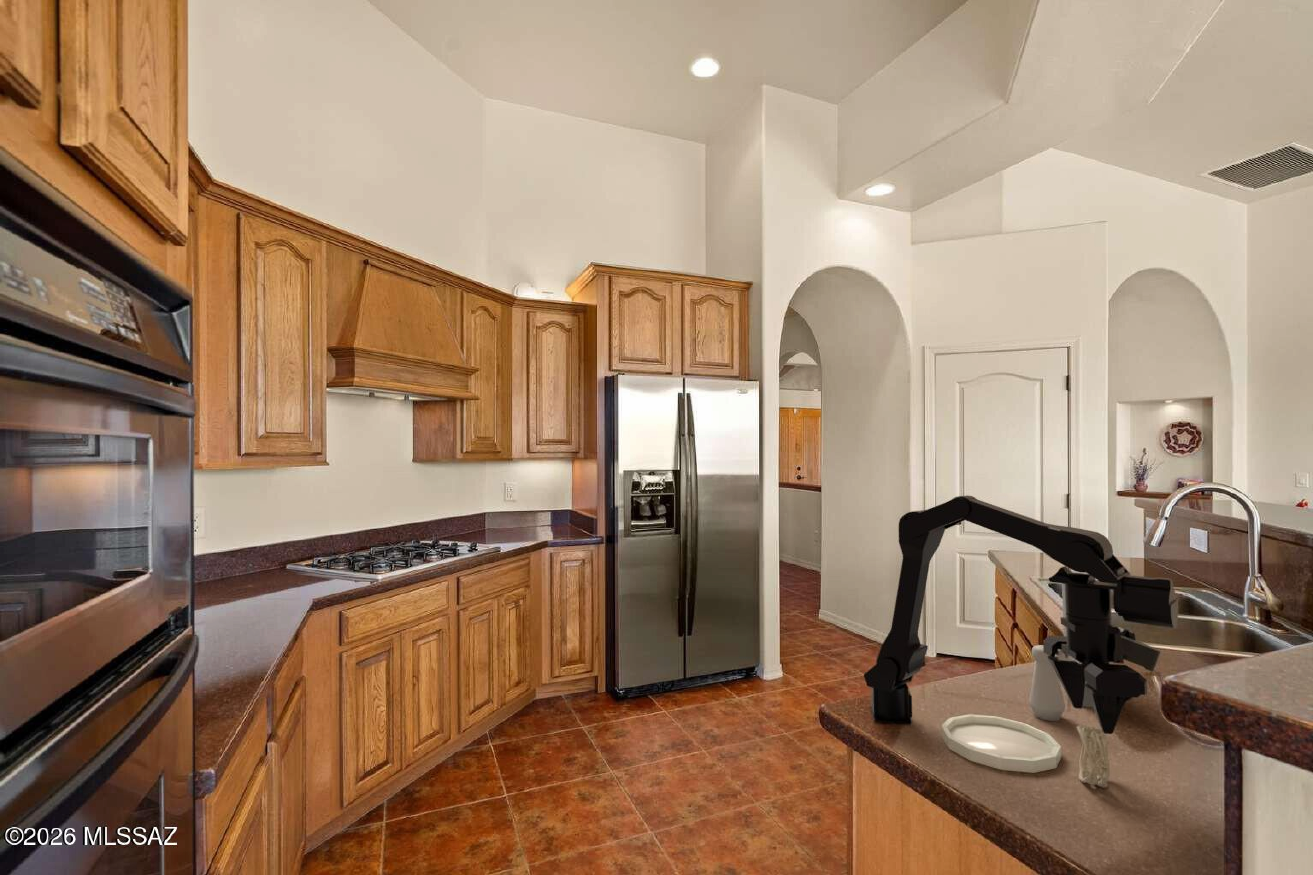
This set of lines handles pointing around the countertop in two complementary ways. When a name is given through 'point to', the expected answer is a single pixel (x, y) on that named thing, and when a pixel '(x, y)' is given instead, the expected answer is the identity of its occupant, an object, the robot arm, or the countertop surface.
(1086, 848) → the countertop surface
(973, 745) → the ring dish
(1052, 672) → the salt shaker
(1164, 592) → the robot arm
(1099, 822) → the countertop surface
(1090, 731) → the bracelet
